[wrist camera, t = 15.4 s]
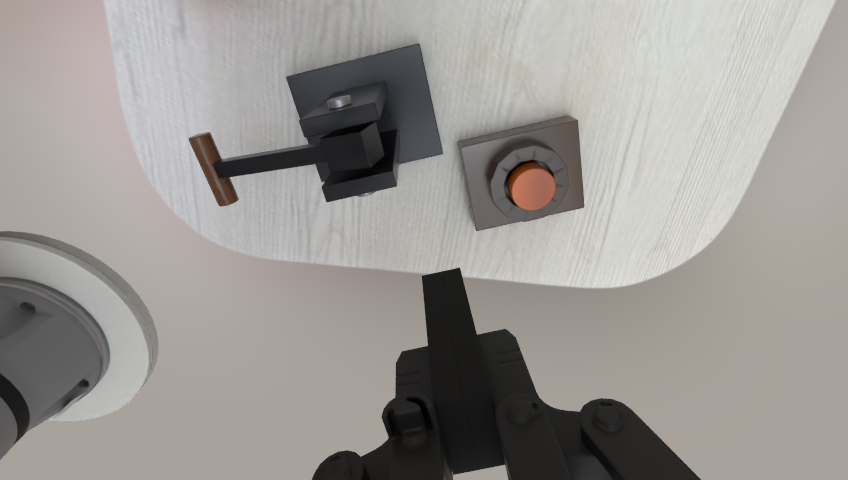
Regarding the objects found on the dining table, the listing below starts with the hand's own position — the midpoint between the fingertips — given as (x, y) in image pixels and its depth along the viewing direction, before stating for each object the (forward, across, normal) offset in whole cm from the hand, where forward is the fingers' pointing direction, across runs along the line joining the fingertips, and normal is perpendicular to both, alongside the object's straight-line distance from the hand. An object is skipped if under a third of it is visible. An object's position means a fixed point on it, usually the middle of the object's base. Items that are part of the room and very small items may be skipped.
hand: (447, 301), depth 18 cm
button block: (+24, +8, -4) cm, 26 cm away
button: (+21, +8, -4) cm, 23 cm away
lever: (+15, -8, +4) cm, 18 cm away
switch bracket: (+25, -4, +4) cm, 25 cm away
